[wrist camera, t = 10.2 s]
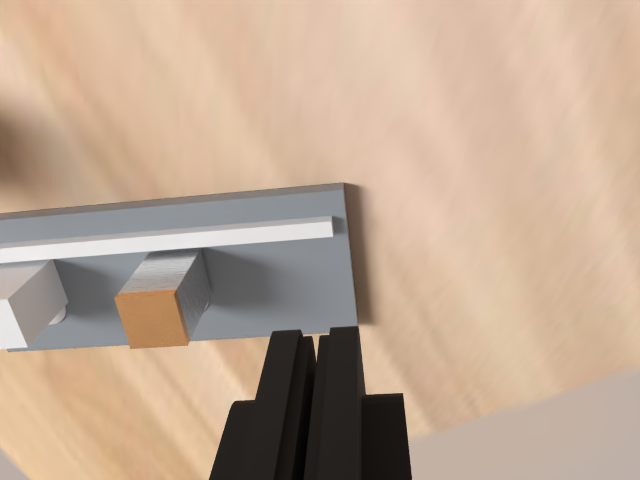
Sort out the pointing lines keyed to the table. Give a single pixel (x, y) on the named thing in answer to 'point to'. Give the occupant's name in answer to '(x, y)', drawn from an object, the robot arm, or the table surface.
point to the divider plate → (178, 234)
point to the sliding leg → (164, 299)
